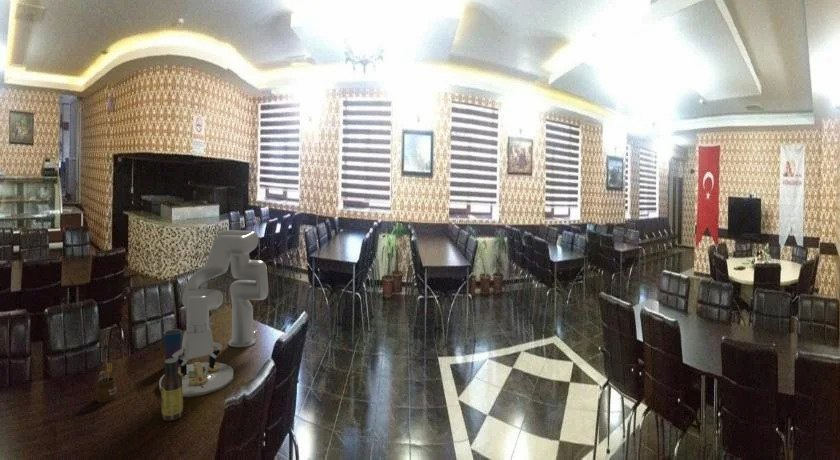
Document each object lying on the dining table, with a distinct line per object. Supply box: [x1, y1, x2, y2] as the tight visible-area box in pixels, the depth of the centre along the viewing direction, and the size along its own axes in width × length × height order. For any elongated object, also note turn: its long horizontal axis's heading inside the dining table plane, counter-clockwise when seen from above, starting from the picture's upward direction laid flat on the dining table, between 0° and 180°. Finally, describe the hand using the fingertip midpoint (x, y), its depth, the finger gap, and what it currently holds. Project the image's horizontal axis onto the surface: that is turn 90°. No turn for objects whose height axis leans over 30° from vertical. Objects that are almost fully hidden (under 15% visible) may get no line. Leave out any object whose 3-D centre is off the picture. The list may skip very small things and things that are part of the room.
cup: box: [162, 328, 183, 367], centre depth 182 cm, size 7×7×15 cm
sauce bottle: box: [160, 358, 184, 422], centre depth 143 cm, size 6×6×20 cm
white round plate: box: [158, 361, 234, 398], centre depth 169 cm, size 26×26×4 cm
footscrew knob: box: [189, 361, 208, 386], centre depth 163 cm, size 7×6×7 cm
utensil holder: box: [95, 362, 117, 403], centre depth 153 cm, size 6×6×12 cm
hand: (198, 370), depth 163 cm, fingers open, 9 cm apart
